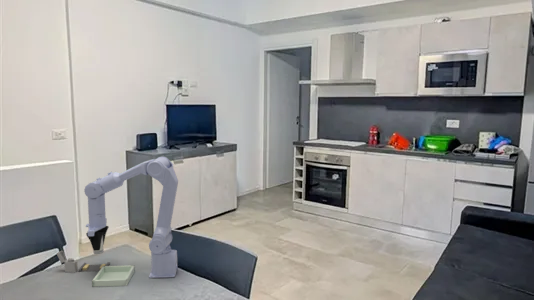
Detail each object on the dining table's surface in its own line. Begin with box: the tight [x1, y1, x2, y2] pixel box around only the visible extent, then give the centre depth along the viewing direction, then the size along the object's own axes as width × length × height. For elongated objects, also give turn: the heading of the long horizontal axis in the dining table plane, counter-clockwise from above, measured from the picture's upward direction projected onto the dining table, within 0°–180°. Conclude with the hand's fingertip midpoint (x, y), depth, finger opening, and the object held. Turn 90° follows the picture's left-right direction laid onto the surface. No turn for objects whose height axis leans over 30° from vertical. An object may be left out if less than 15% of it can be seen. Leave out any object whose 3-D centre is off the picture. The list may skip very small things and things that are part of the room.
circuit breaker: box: [56, 250, 79, 274], centre depth 138 cm, size 7×2×8 cm, turn 84°
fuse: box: [92, 235, 104, 255], centre depth 139 cm, size 4×4×6 cm
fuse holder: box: [77, 261, 111, 273], centre depth 142 cm, size 10×6×1 cm, turn 96°
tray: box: [91, 265, 136, 288], centre depth 134 cm, size 12×12×2 cm
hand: (98, 247), depth 139 cm, fingers closed on fuse, 3 cm apart
